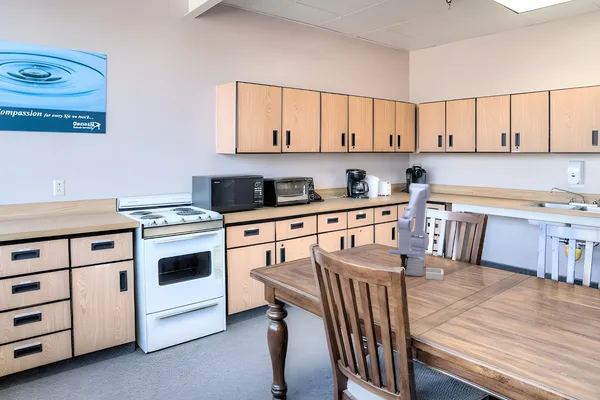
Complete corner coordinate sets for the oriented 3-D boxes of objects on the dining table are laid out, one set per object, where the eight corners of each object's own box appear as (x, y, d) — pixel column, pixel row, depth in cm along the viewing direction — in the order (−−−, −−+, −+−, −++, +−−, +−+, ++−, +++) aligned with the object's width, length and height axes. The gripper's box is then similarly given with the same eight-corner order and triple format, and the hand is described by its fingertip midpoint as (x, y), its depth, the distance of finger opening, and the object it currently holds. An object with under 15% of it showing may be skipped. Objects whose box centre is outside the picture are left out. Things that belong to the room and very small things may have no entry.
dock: (425, 273, 210) (426, 267, 210) (442, 275, 208) (443, 269, 207) (425, 278, 201) (426, 272, 201) (443, 280, 199) (443, 274, 199)
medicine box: (420, 274, 209) (422, 257, 208) (422, 276, 205) (424, 259, 204) (404, 272, 209) (406, 255, 208) (406, 275, 205) (408, 258, 204)
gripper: (388, 242, 205) (387, 269, 206) (419, 245, 201) (418, 273, 202) (390, 240, 212) (389, 266, 213) (420, 242, 207) (418, 269, 209)
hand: (403, 269), depth 208 cm, fingers closed, pressing on medicine box
